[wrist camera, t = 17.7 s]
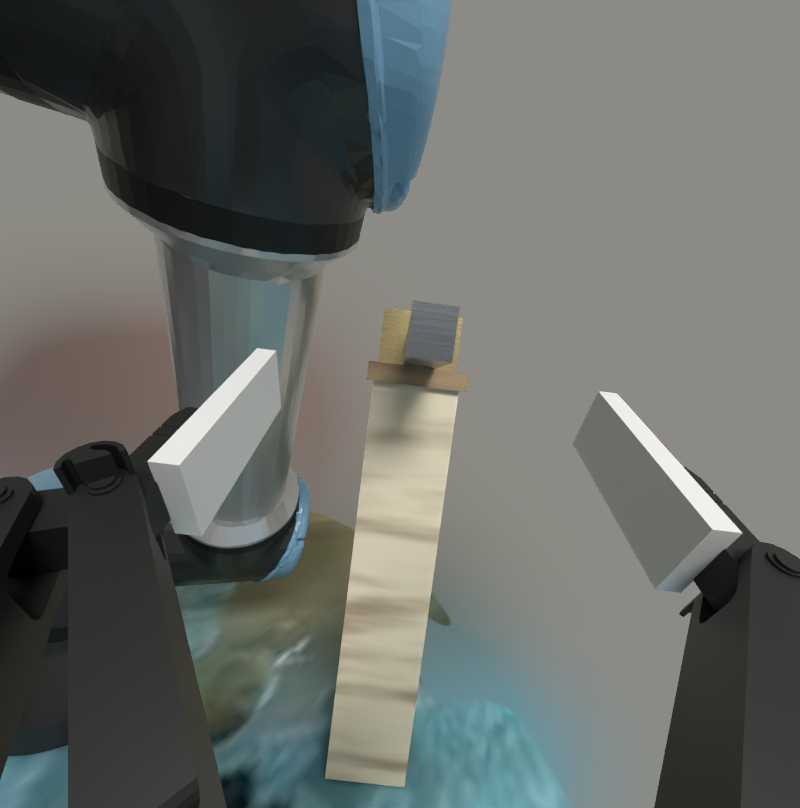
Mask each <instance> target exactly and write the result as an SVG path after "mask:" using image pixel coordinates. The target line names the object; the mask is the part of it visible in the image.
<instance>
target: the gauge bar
mask: <svg viewBox="0 0 800 808" xmlns="http://www.w3.org/2000/svg"><path fill="white" fill-rule="evenodd" d="M459 308H460V307H459V306H450V305H443V304H436V303H428V302H420V301H413V304H412V310H411V311H407V310H399V309H392V308H385V310H384V318H383V326H382V335H381V342H380V351H379V359H378V362H382V363H390V364H398V365H406V366H414V367H421V368H429V369H437V370H445V371H453V372H456V365H457V357H458V350H459V343H460V336H461V328H462V321H463V318H461V317H458V315H459Z"/></svg>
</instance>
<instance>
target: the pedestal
mask: <svg viewBox="0 0 800 808" xmlns="http://www.w3.org/2000/svg"><path fill="white" fill-rule="evenodd" d="M367 380H374V381H373V389H372V397H371V405H370V413H369V421H368V430H367V438H366V446H365V454H364V462H363V470H362V479H361V487H360V495H359V503H358V511H357V519H356V528H355V536H354V544H353V552H352V560H351V569H350V577H349V585H348V593H347V601H346V609H345V618H344V626H343V634H342V642H341V650H340V658H339V667H338V675H337V683H336V691H335V699H334V707H333V716H332V724H331V732H330V740H329V748H328V757H327V765H326V773H325V779H333V780H342V781H350V782H359V783H368V784H377V785H386V786H395V787H404V786H405V778H406V771H407V764H408V757H409V749H410V742H411V735H412V728H413V720H414V713H415V706H416V699H417V691H418V684H419V677H420V669H421V661H422V655H423V648H424V640H425V633H426V626H427V619H428V611H429V604H430V597H431V590H432V582H433V575H434V568H435V560H436V553H437V546H438V538H439V531H440V524H441V517H442V510H443V502H444V495H445V488H446V480H447V473H448V466H449V458H450V451H451V444H452V436H453V429H454V421H455V415H456V408H457V401H458V393H459V391H461V392H466V389H467V382H468V373H460V372H453V371H445V370H437V369H429V368H421V367H414V366H406V365H398V364H390V363H382V362H375V361H369V366H368V374H367Z"/></svg>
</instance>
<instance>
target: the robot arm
mask: <svg viewBox="0 0 800 808" xmlns="http://www.w3.org/2000/svg"><path fill="white" fill-rule="evenodd" d="M451 3H452V0H0V93H3V94H6V95H10V96H13V97H15V98H17V99H19V100H22V101H25V102H29V103H32V104H35V105H38V106H42V107H45V108H48V109H52V110H55V111H58V112H61V113H64V114H66V115H71V116H74V117H77V118H79V119H83V120H85V121H87V122H88V123H89V124H90V126H91V128H92V131H93V135H94V139H95V144H96V148H97V153H98V158H99V162H100V167H101V171H102V176H103V180H104V184H105V188H106V190H107V192H108V193H109V195H110V197H111V198H112V199H113V200H114V201H115V202H116V203H117V204H118V205H119V206H120V207H122V208H123V209H124V210H125V211H126V212H128V213H129V214H130V215H132V217H134V218H135V219H136V220H138V221H139V222H140V223H141V224H142V225H144V226H145V227H146V228H147V229H148V230H150V231H151V232H152V233H153V234H154V238H155V245H156V252H157V259H158V265H159V273H160V279H161V287H162V294H163V300H164V308H165V314H166V322H167V329H168V336H169V343H170V349H171V356H172V364H173V370H174V378H175V385H176V391H177V399H178V406H179V412H177V413H175V414H173V415H172V416H171V417H170V418H169V419H167V420H166V421H165V422H164V423H163V424H162V425H161V427H159V428H158V429H157V430H156V431H155V432H154V433H153V435H152V436H149V437H148V438H147V439H146V440H145V441H144V442H143V443H142V444H141V445H140V446H139V447H138V448H137V449H136V450H135V451H134V452H133V453H132V454H130V455H128V452H127V450H126V448H125V447H124V446H123V444H120V443H118V442H114V441H100V442H93V443H89V444H86V445H83V446H80V447H77V448H75V449H73V450H71V451H70V452H68V453H66V454H64V455H63V456H62V457H61V458H60V459H59V460H58V461H57V462H56V463H55V466H54V468H51V469H48V470H45V471H42V472H40V473H37V474H35V475H33V476H31V477H29V478H27V479H26V478H22V477H5V478H1V479H0V778H1V776H2V773H3V770H4V767H5V764H6V761H7V758H8V756H19V755H28V754H34V753H39V752H43V751H47V750H51V749H54V748H58V747H61V746H63V745H66V744H68V808H227V807H226V803H225V798H224V794H223V790H222V786H221V781H220V777H219V773H218V768H217V764H216V760H215V756H214V751H213V747H212V743H211V739H210V734H209V730H208V726H207V722H206V717H205V713H204V709H203V704H202V700H201V696H200V692H199V687H198V683H197V679H196V675H195V670H194V666H193V662H192V657H191V653H190V649H189V645H188V640H187V636H186V632H185V628H184V623H183V619H182V615H181V610H180V606H179V602H178V598H177V593H176V589H175V586H188V585H203V584H217V583H231V582H246V581H254V582H265V581H267V580H269V579H277V578H283V577H285V576H287V575H289V574H290V573H291V572H292V571H293V570H294V569H295V567H296V566H297V564H298V562H299V560H300V557H301V554H302V551H303V547H304V538H305V536H306V533H307V528H308V520H309V489H308V485H307V483H306V482H305V481H304V480H303V479H302V478H300V477H296V474H295V473H294V471H293V469H292V468H291V466H290V459H291V453H292V448H293V443H294V437H295V432H296V426H297V421H298V415H299V409H300V404H301V398H302V393H303V387H304V382H305V376H306V370H307V365H308V360H309V354H310V348H311V343H312V337H313V332H314V326H315V321H316V315H317V310H318V304H319V299H320V293H321V288H322V282H323V276H324V271H325V266H326V265H328V264H330V263H332V262H334V261H336V260H338V259H340V258H341V257H343V256H345V255H347V254H349V253H350V252H352V251H353V250H354V249H355V248H356V246H357V244H358V241H359V236H360V231H361V227H362V222H363V219H364V215H365V212H366V209H367V208H368V207H369V208H371V209H372V210H373V212H374V213H377V214H380V213H382V212H384V211H393V210H396V209H397V208H398V207H399V206H400V205H401V204H402V203H403V201H404V200H405V198H406V196H407V194H408V191H409V187H410V182H411V180H412V179H413V178H414V177H415V176H416V173H417V171H418V168H419V165H420V162H421V159H422V155H423V152H424V148H425V145H426V141H427V137H428V133H429V129H430V125H431V121H432V117H433V112H434V107H435V103H436V98H437V93H438V88H439V82H440V77H441V72H442V66H443V60H444V54H445V48H446V41H447V35H448V27H449V19H450V11H451ZM573 445H574V447H575V449H576V450H577V452H578V454H579V456H580V457H581V459H582V461H583V463H584V465H585V466H586V468H587V470H588V472H589V473H590V475H591V477H592V478H593V481H594V482H595V484H596V486H597V488H598V489H599V491H600V493H601V495H602V496H603V498H604V500H605V502H606V504H607V505H608V507H609V509H610V511H611V512H612V514H613V516H614V518H615V519H616V521H617V523H618V525H619V526H620V528H621V530H622V532H623V534H624V535H625V537H626V539H627V541H628V542H629V544H630V546H631V548H632V550H633V551H634V553H635V555H636V557H637V559H638V560H639V562H640V564H641V566H642V567H643V569H644V571H645V573H646V574H647V576H648V578H649V580H650V582H651V583H652V585H653V587H654V588H655V590H662V591H672V592H680V593H681V592H682V591H683V590H684V589H685V588H686V587H687V586H688V585H689V584H690V583H691V582H693V581H694V582H695V583H696V585H697V586H698V588H699V589H700V591H701V593H700V594H699V595H698V596H696V598H694V599H693V600H692V601H691V602H690V603H689V604H688V605H687V606H685V607H684V608H683V609H682V611H681V612H680V613H679V614H680V615H681V616H683V617H684V616H685V615H686V614H687V613H692V614H691V619H690V624H689V629H688V635H687V640H686V645H685V650H684V656H683V661H682V666H681V671H680V676H679V682H678V687H677V692H676V697H675V702H674V708H673V713H672V718H671V723H670V729H669V734H668V739H667V744H666V749H665V755H664V760H663V766H662V770H661V775H660V781H659V786H658V791H657V796H656V802H655V807H654V808H800V559H799V558H798V557H796V556H794V555H793V554H791V553H789V552H788V551H786V550H784V549H782V548H780V547H777V546H775V545H773V544H769V543H763V542H759V540H757V538H756V537H755V536H754V535H753V534H752V533H751V532H750V531H749V530H748V529H747V528H746V526H745V525H744V524H743V523H742V522H741V521H740V520H739V519H738V518H737V517H736V516H735V515H734V514H733V512H732V511H731V510H730V509H729V508H728V507H727V506H726V505H723V502H722V501H721V499H719V497H718V496H717V495H716V494H713V491H712V490H711V489H710V488H709V487H708V485H707V484H706V483H705V482H704V481H703V480H702V479H701V478H700V477H698V476H697V475H695V474H694V473H693V472H691V471H690V470H688V469H687V468H686V467H683V466H682V465H681V464H680V463H679V462H678V461H677V460H676V459H675V457H674V456H673V455H672V454H671V453H670V452H669V451H668V450H667V449H666V447H665V446H664V445H663V444H662V443H661V442H660V441H659V440H658V439H657V437H656V436H655V435H654V434H653V433H652V432H651V431H650V430H649V429H648V428H647V426H646V425H645V424H644V423H643V422H642V421H641V420H640V419H639V417H638V416H637V415H636V414H635V413H634V412H633V411H632V410H631V409H630V407H629V406H628V405H627V404H626V403H625V402H624V401H623V400H622V399H621V397H620V396H619V395H618V394H616V393H608V392H600V391H599V392H598V394H597V395H596V397H595V400H594V401H593V403H592V405H591V407H590V410H589V411H588V414H587V415H586V417H585V419H584V421H583V423H582V426H581V428H580V430H579V432H578V434H577V435H576V437H575V440H574V442H573Z"/></svg>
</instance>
